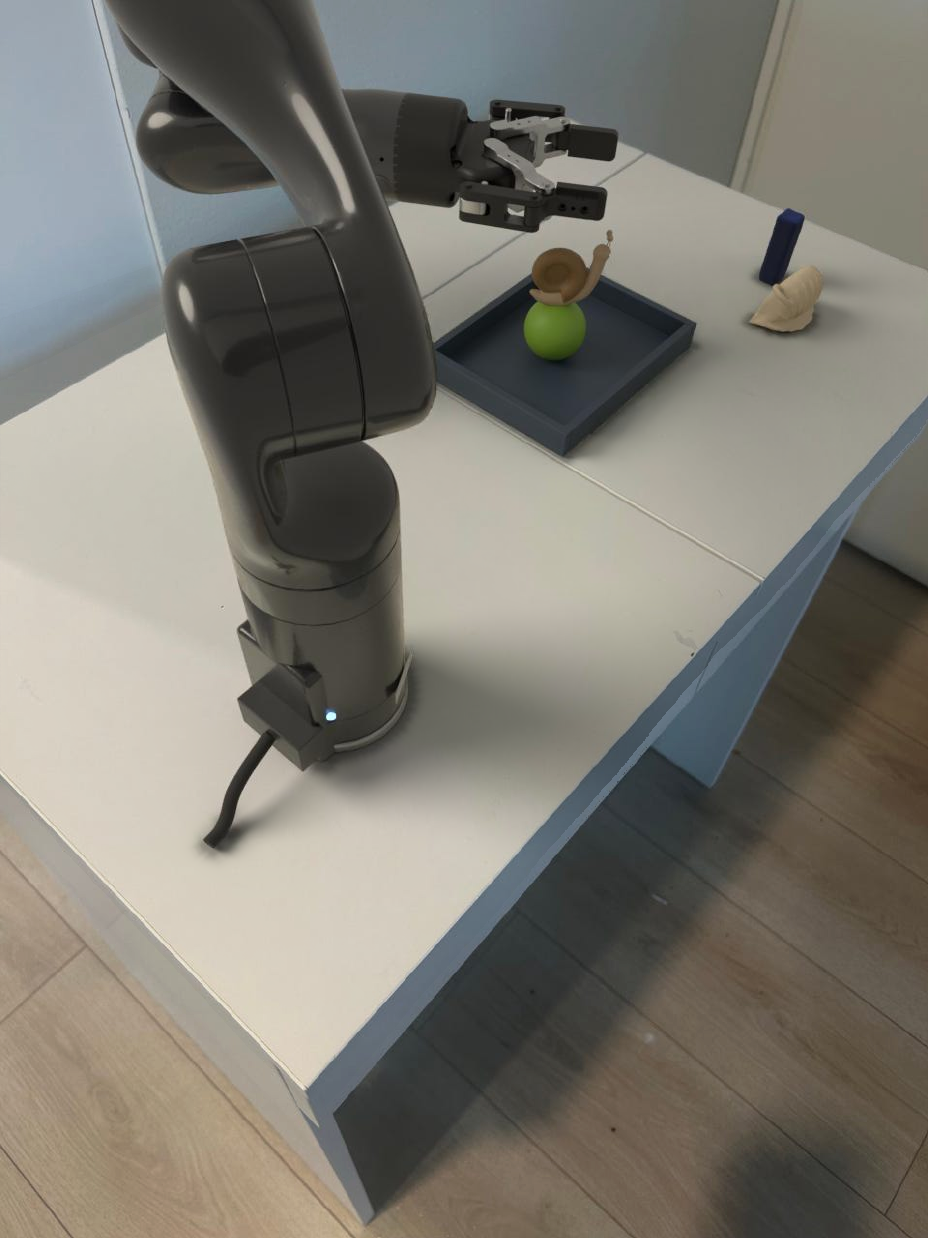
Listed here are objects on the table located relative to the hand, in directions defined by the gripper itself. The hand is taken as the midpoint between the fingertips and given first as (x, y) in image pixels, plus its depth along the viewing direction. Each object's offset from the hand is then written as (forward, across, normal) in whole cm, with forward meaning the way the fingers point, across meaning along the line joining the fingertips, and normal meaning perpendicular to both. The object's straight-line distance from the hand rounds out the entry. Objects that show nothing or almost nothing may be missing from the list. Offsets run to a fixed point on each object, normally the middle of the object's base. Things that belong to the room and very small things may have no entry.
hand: (611, 174), depth 71 cm
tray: (-2, 0, +18) cm, 18 cm away
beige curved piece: (+18, +11, +18) cm, 27 cm away
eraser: (+17, +17, +18) cm, 30 cm away
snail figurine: (-2, 0, +17) cm, 17 cm away
